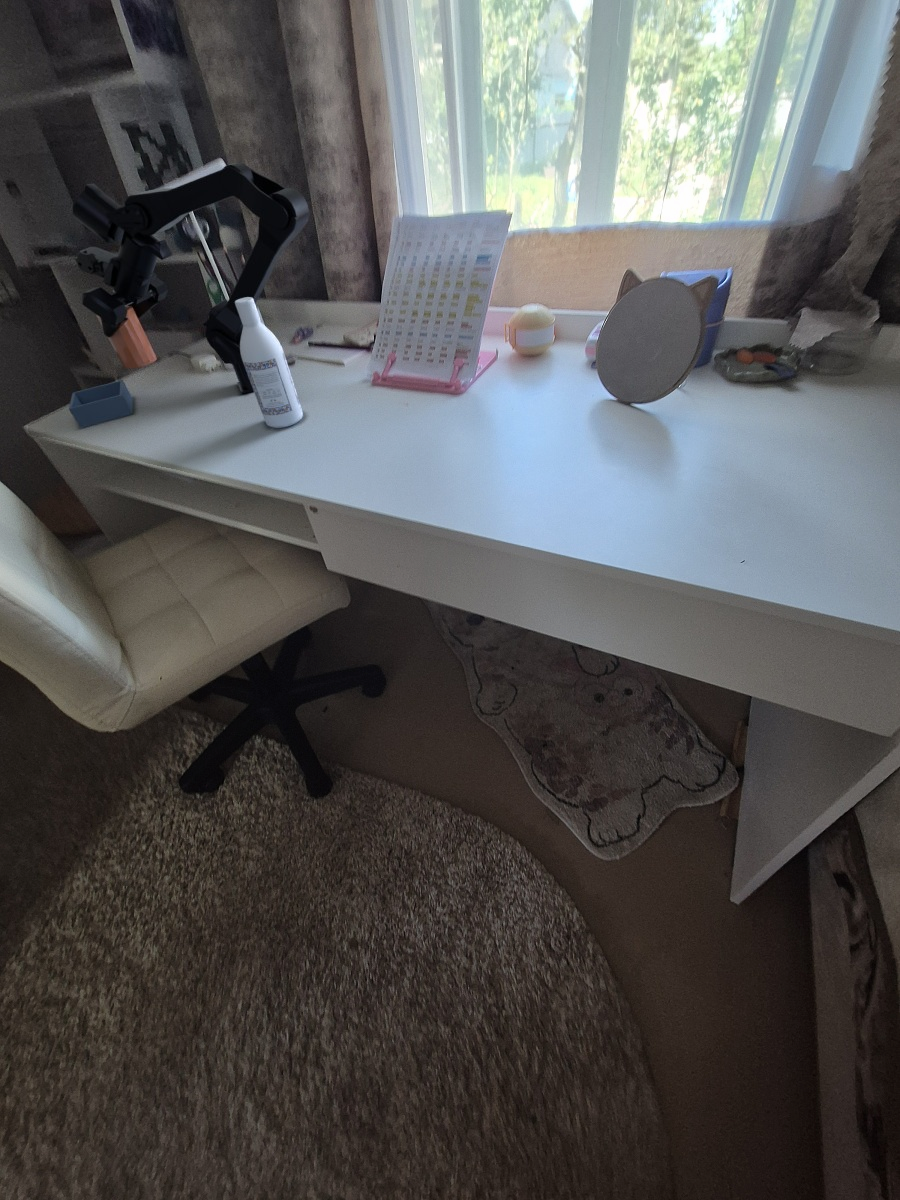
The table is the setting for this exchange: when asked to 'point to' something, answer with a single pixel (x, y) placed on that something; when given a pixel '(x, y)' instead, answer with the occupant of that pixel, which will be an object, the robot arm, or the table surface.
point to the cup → (132, 343)
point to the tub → (101, 404)
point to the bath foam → (267, 369)
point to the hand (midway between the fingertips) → (117, 329)
